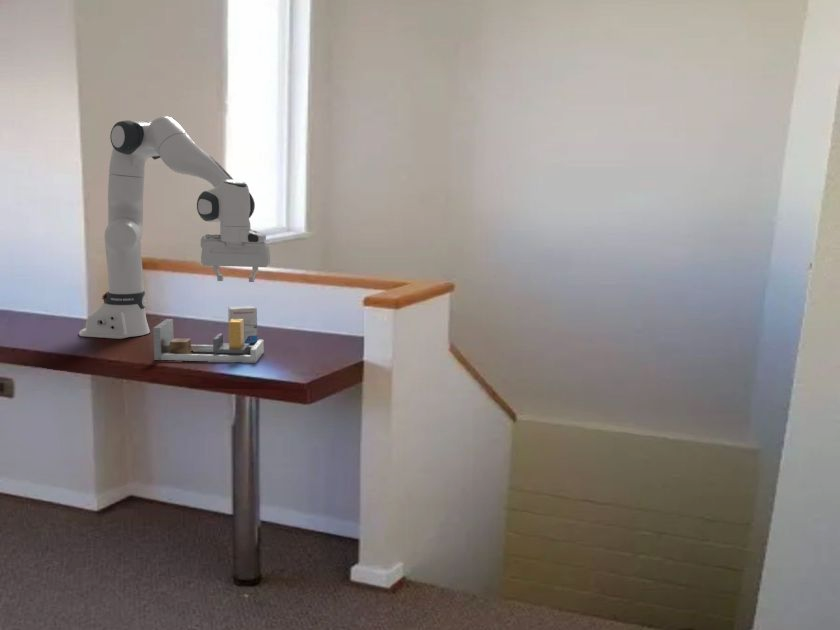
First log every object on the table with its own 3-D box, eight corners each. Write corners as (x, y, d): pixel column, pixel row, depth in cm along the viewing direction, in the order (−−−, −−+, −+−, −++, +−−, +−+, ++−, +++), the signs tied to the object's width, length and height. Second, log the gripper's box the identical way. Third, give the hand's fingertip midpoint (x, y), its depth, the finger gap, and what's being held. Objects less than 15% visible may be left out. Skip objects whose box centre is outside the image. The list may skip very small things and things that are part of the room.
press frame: (154, 360, 264) (153, 327, 262) (167, 350, 278) (166, 318, 276) (255, 362, 264) (255, 329, 263) (263, 352, 278) (263, 320, 276)
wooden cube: (170, 358, 269) (169, 341, 268) (175, 354, 274) (174, 338, 273) (186, 358, 269) (186, 342, 268) (191, 354, 274) (190, 338, 273)
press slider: (213, 359, 267) (212, 323, 265) (219, 352, 276) (218, 317, 274) (243, 359, 267) (243, 323, 265) (249, 352, 276) (248, 317, 274)
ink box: (254, 340, 295) (254, 305, 293) (257, 343, 290) (257, 308, 288) (228, 341, 292) (227, 306, 289) (231, 345, 287) (230, 309, 285)
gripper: (197, 235, 262) (198, 281, 264) (267, 237, 262) (267, 283, 264) (203, 233, 268) (203, 278, 271) (271, 235, 268) (271, 280, 270)
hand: (236, 281), depth 267 cm, fingers open, 8 cm apart
